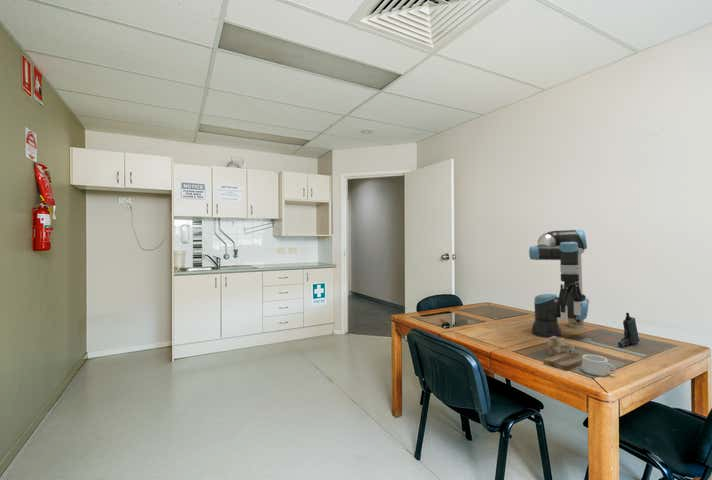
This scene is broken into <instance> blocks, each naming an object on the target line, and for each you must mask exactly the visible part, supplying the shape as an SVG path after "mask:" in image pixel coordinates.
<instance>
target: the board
mask: <svg viewBox="0 0 712 480" xmlns="http://www.w3.org/2000/svg"><path fill="white" fill-rule="evenodd" d="M583 355H584V354H582V353H578V352H573V351H571V353H569V350H565V351H564V352H562V353H559V354H556V355H551V356H549V357H546V358H544V359H543V364H544V365H545V366H549V367H553V368H557V369H560V370H563V371H566V372H567V371H570V370H572V369H575V368H577V367H579V366H582V357H583Z"/></svg>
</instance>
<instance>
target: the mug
mask: <svg viewBox="0 0 712 480" xmlns="http://www.w3.org/2000/svg"><path fill="white" fill-rule="evenodd" d="M582 355H583V357H582V365H580V367H581V370H582V371H583V372H584V373H585V374H588V375H592V376H597V377H606V376H608V375H612V374H615V373H616V371H617V370H616V367H615V366H614V365H613V364H611V363H609V361H608V359H607V358H606V357H604V356H601V355H596V354H582ZM610 367H611V368H612V371H610Z"/></svg>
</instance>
